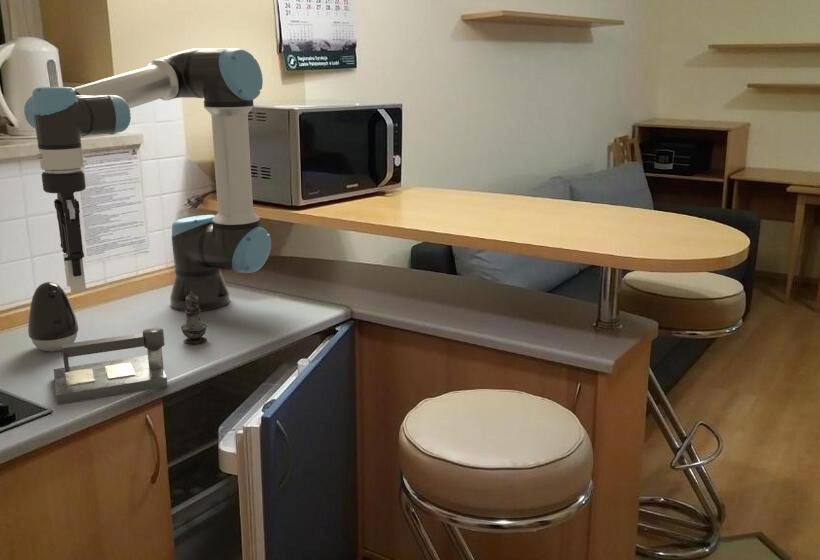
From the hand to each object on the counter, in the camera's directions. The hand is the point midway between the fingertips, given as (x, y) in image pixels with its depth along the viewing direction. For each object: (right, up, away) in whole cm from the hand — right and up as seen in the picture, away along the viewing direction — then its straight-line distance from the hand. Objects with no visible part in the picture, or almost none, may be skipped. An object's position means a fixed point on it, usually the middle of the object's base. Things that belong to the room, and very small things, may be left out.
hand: (76, 287), depth 156 cm
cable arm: (+8, -15, +1) cm, 17 cm away
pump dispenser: (-13, -14, +20) cm, 28 cm away
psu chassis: (+6, -19, +2) cm, 20 cm away
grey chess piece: (+17, -13, +25) cm, 32 cm away
